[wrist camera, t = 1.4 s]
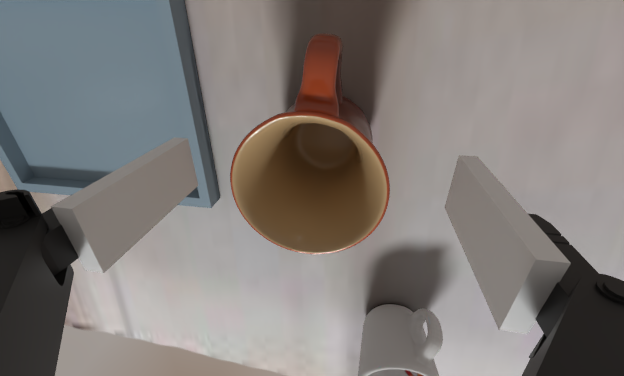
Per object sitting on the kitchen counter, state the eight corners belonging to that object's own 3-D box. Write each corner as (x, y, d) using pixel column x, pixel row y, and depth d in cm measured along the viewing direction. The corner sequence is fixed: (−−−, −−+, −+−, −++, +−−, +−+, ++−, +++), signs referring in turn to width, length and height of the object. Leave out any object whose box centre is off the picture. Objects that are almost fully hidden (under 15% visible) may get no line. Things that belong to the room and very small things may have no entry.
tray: (37, 181, 32) (18, 190, 30) (-67, -11, 23) (-101, -15, 22) (220, 197, 29) (211, 207, 27) (181, -16, 20) (164, -20, 19)
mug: (368, 185, 26) (372, 266, 17) (275, 172, 27) (233, 242, 18) (399, 38, 20) (430, 45, 11) (279, 26, 21) (219, 24, 12)
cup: (395, 270, 30) (405, 340, 24) (457, 300, 31) (485, 376, 24) (346, 322, 36) (343, 391, 29) (400, 346, 37) (410, 420, 30)
